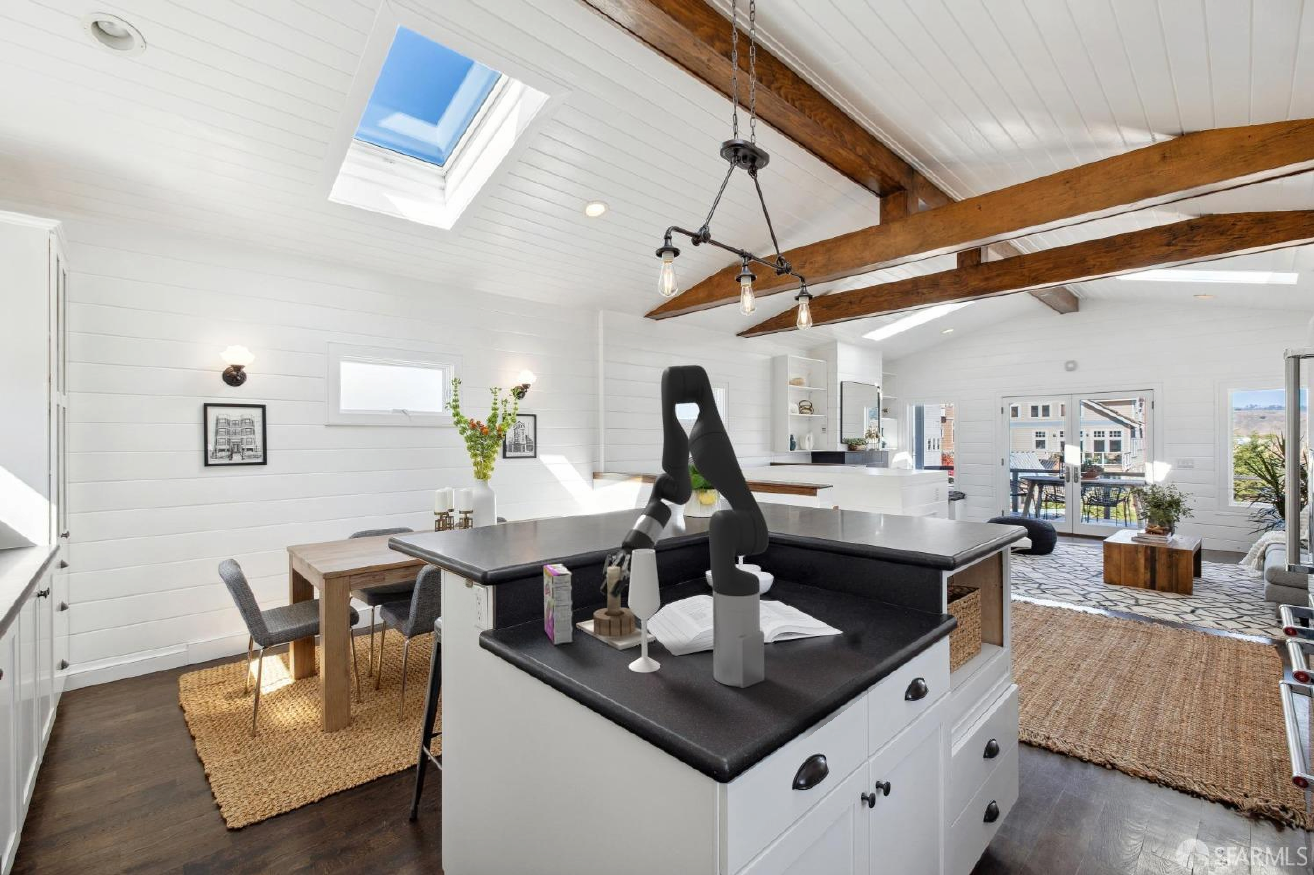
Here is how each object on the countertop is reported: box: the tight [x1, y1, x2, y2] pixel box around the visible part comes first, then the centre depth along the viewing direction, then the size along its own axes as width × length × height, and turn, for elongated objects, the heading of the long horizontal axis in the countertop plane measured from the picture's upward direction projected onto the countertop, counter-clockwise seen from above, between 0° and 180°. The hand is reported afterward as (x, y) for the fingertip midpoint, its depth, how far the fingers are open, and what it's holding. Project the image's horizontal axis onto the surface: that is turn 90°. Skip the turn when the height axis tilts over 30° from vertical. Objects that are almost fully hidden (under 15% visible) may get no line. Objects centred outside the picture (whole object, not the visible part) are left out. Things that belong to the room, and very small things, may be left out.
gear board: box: [575, 607, 656, 651], centre depth 142 cm, size 20×10×5 cm, turn 37°
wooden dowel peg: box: [606, 566, 622, 615], centre depth 142 cm, size 3×3×11 cm
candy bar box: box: [543, 563, 574, 645], centre depth 140 cm, size 11×5×16 cm, turn 22°
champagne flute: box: [627, 549, 661, 673], centre depth 122 cm, size 7×7×24 cm
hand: (607, 594), depth 141 cm, fingers closed on wooden dowel peg, 3 cm apart
